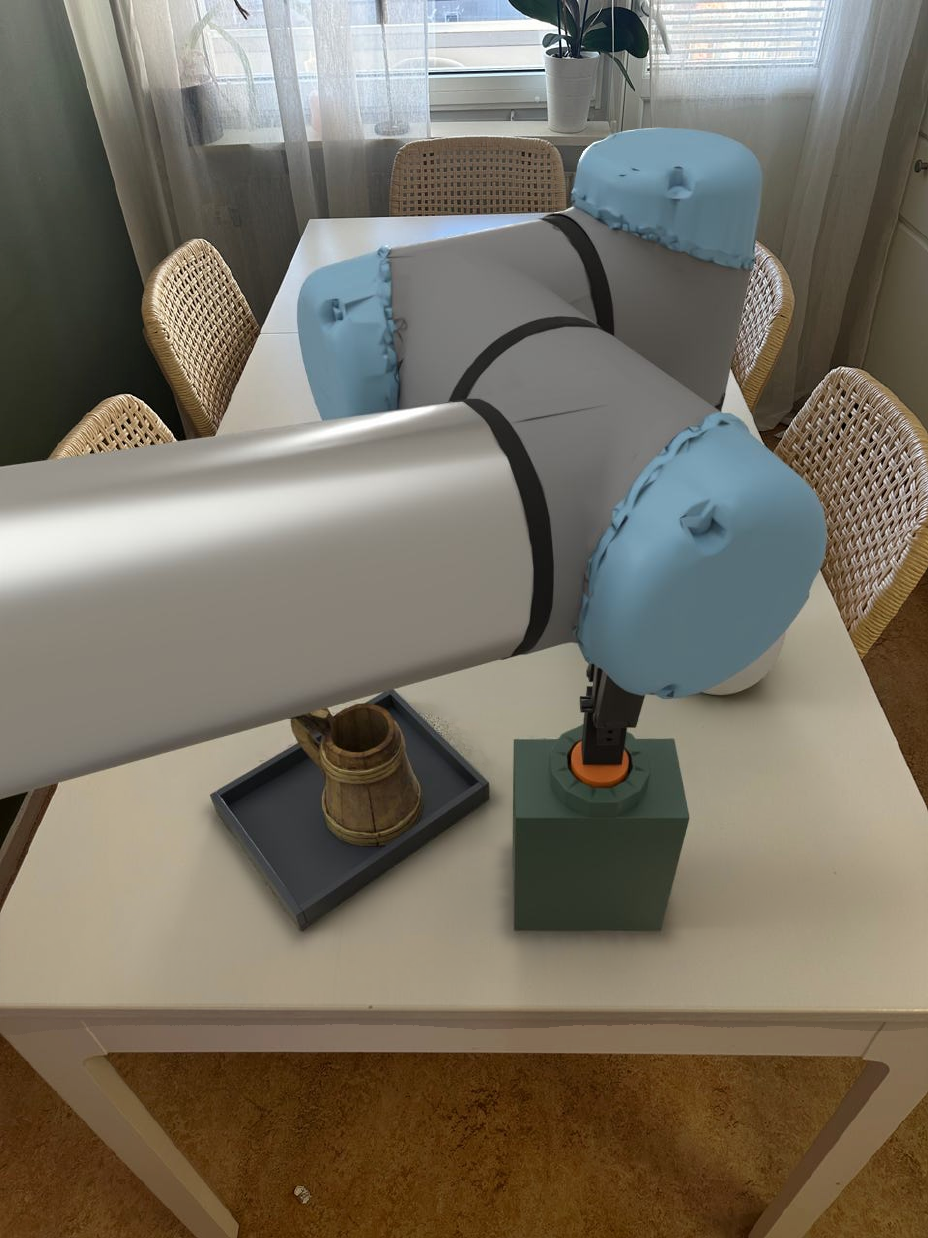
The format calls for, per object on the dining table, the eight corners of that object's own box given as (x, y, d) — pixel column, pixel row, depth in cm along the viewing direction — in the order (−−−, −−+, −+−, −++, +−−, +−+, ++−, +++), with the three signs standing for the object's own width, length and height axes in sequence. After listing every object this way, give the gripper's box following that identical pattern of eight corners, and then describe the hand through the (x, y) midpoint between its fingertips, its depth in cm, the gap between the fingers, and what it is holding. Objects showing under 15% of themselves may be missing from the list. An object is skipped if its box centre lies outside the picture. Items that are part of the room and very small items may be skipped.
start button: (572, 797, 61) (573, 782, 60) (568, 751, 64) (569, 736, 62) (629, 797, 61) (631, 782, 59) (623, 751, 64) (625, 736, 62)
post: (513, 930, 71) (515, 802, 59) (512, 854, 76) (513, 723, 64) (660, 931, 71) (693, 802, 58) (649, 855, 76) (677, 722, 63)
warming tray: (301, 932, 72) (295, 916, 70) (215, 811, 81) (209, 794, 79) (489, 799, 81) (489, 782, 79) (394, 703, 90) (392, 686, 88)
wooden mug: (311, 743, 85) (278, 609, 73) (438, 782, 81) (425, 647, 69) (264, 815, 79) (220, 683, 67) (398, 861, 75) (377, 729, 63)
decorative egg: (656, 620, 97) (674, 512, 87) (769, 634, 95) (802, 525, 85) (649, 701, 89) (668, 591, 78) (773, 718, 86) (810, 608, 76)
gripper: (734, 552, 40) (669, 837, 56) (687, 407, 49) (643, 686, 65) (570, 554, 40) (552, 837, 56) (554, 410, 50) (543, 687, 66)
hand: (601, 756), depth 61 cm, fingers closed
